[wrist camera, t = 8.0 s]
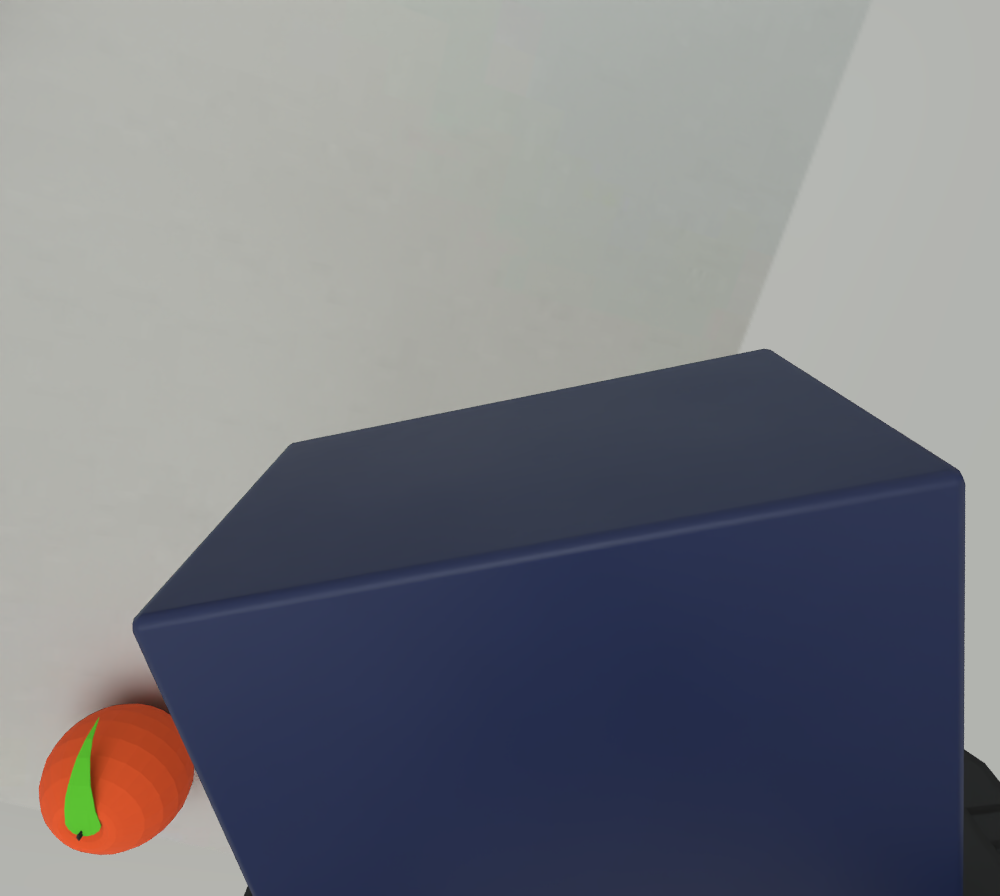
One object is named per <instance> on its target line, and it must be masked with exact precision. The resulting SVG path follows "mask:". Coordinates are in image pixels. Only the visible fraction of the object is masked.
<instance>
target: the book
mask: <svg viewBox="0 0 1000 896" xmlns="http://www.w3.org/2000/svg"><path fill="white" fill-rule="evenodd" d="M964 596H965V482H964V479H963V477H962V475H961V473H960V471H959V470H958V469H956V468H955V467H953V466H951V465H950V464H948V463H947V462H945V461H944V460H942V459H941V458H939V457H938V456H936V455H934V454H933V453H931V452H930V451H928V450H926V449H925V448H923V447H922V446H920V445H919V444H917V443H916V442H914V441H912V440H910V439H909V438H908V437H906V436H904V435H903V434H901V433H900V432H898V431H897V430H895V429H894V428H892V427H890V426H889V425H887V424H886V423H884V422H883V421H881V420H879V419H878V418H876V417H875V416H873V415H872V414H870V413H868V412H867V411H865V410H864V409H862V408H860V407H859V406H857V405H856V404H854V403H853V402H851V401H850V400H848V399H846V398H845V397H843V396H842V395H840V394H839V393H837V392H836V391H834V390H832V389H831V388H829V387H828V386H826V385H825V384H823V383H821V382H820V381H818V380H817V379H815V378H813V377H812V376H810V375H809V374H807V373H806V372H804V371H803V370H801V369H799V368H798V367H796V366H795V365H793V364H792V363H790V362H788V361H787V360H785V359H784V358H782V357H781V356H779V355H777V354H776V353H774V352H773V351H771V350H768V349H761V350H756V351H751V352H746V353H741V354H736V355H731V356H726V357H721V358H716V359H711V360H706V361H701V362H696V363H691V364H686V365H681V366H676V367H671V368H666V369H661V370H656V371H651V372H646V373H641V374H636V375H631V376H626V377H621V378H616V379H611V380H606V381H601V382H596V383H591V384H586V385H581V386H576V387H571V388H566V389H561V390H556V391H551V392H546V393H541V394H536V395H531V396H526V397H521V398H516V399H511V400H506V401H501V402H496V403H491V404H486V405H481V406H476V407H471V408H466V409H461V410H456V411H451V412H446V413H441V414H436V415H431V416H426V417H421V418H416V419H411V420H406V421H401V422H396V423H391V424H386V425H381V426H376V427H371V428H366V429H361V430H356V431H351V432H346V433H341V434H336V435H331V436H326V437H321V438H316V439H311V440H306V441H301V442H296V443H292V444H291V445H289V446H288V447H287V448H286V449H285V451H284V452H283V453H282V454H281V455H280V456H279V457H278V458H277V460H276V461H275V462H274V463H273V464H272V465H271V466H270V467H269V468H268V470H267V471H266V472H265V473H264V474H263V475H262V476H261V477H260V478H259V480H258V481H257V482H256V483H255V484H254V485H253V486H252V487H251V489H250V490H249V491H248V492H247V493H246V494H245V495H244V496H243V497H242V499H241V500H240V501H239V502H238V503H237V504H236V505H235V506H234V508H233V509H232V510H231V511H230V512H229V513H228V514H227V515H226V516H225V518H224V519H223V520H222V521H221V522H220V523H219V524H218V525H217V526H216V528H215V529H214V530H213V531H212V532H211V533H210V534H209V535H208V537H207V538H206V539H205V540H204V541H203V542H202V543H201V544H200V545H199V547H198V548H197V549H196V550H195V551H194V552H193V553H192V554H191V555H190V557H189V558H188V559H187V560H186V561H185V562H184V563H183V564H182V566H181V567H180V568H179V569H178V570H177V571H176V572H175V573H174V574H173V576H172V577H171V578H170V579H169V580H168V581H167V582H166V583H165V585H164V586H163V587H162V588H161V589H160V590H159V591H158V592H157V593H156V595H155V596H154V597H153V598H152V599H151V600H150V601H149V602H148V603H147V605H146V606H145V607H144V608H143V609H142V610H141V611H140V612H139V614H138V615H137V616H136V617H135V618H134V621H133V633H134V635H135V637H136V640H137V642H138V644H139V646H140V648H141V651H142V653H143V655H144V657H145V659H146V662H147V664H148V666H149V668H150V670H151V673H152V675H153V677H154V679H155V681H156V684H157V686H158V688H159V690H160V693H161V695H162V697H163V699H164V701H165V704H166V706H167V708H168V710H169V712H170V715H171V717H172V719H173V721H174V723H175V726H176V728H177V730H178V732H179V734H180V737H181V739H182V741H183V743H184V745H185V748H186V750H187V752H188V754H189V756H190V759H191V761H192V763H193V765H194V767H195V770H196V772H197V774H198V776H199V779H200V781H201V783H202V785H203V787H204V790H205V792H206V794H207V796H208V798H209V801H210V803H211V805H212V807H213V809H214V812H215V814H216V816H217V818H218V820H219V823H220V825H221V827H222V829H223V831H224V834H225V836H226V838H227V840H228V842H229V845H230V847H231V849H232V851H233V853H234V856H235V858H236V860H237V862H238V864H239V866H240V869H241V871H242V873H243V876H244V878H245V880H246V882H247V884H248V887H249V889H250V891H251V893H252V895H253V896H963V826H964V620H965V618H964V615H965V611H964V609H965V608H964V607H965V603H964V602H965V599H964V598H965V597H964Z"/></svg>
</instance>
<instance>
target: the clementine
mask: <svg viewBox="0 0 1000 896" xmlns="http://www.w3.org/2000/svg"><path fill="white" fill-rule="evenodd" d="M193 775H194V765H193V763H192V761H191V759H190V756H189V754H188V752H187V750H186V748H185V745H184V743H183V741H182V739H181V737H180V734H179V732H178V730H177V728H176V726H175V723H174V721H173V719H172V717H171V715H170V714H168V713H167V712H165V711H163V710H161V709H158V708H156V707H153V706H150V705H144V704H122V705H114V706H111V707H107V708H104V709H101V710H99V711H97V712H95V713H93V714H91V715H89V716H87V717H86V718H84V719H82V720H81V721H79V722H78V723H76V724H75V725H74V726H73V727H72V728H71V729H70V730H69V731H68V732H66V733H65V734H64V736H63V737H62V738H61V739H60V740H59V742H58V743H57V744H56V746H55V747H54V749H53V750H52V752H51V754H50V755H49V757H48V758H47V761H46V764H45V767H44V770H43V773H42V777H41V781H40V785H39V800H40V807H41V813H42V815H43V818H44V821H45V823H46V824H47V826H48V827H49V829H50V830H51V831H52V833H53V834H54V835H55V836H56V837H57V838H58V839H59V840H60V841H62V842H63V843H64V844H65V845H67V846H69V847H70V848H72V849H75V850H78V851H80V852H85V853H91V854H99V855H104V854H116V853H120V852H124V851H126V850H129V849H132V848H135V847H137V846H140V845H142V844H143V843H145V842H147V841H149V840H150V839H152V838H153V837H154V836H156V835H157V834H158V833H160V832H161V831H162V830H163V829H164V828H165V827H166V826H167V825H168V824H169V823H170V822H171V821H172V820H173V819H174V817H175V816H176V815H177V813H178V812H179V811H180V809H181V808H182V807H183V804H184V802H185V800H186V798H187V795H188V793H189V790H190V787H191V785H192V782H193Z"/></svg>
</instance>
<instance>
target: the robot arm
mask: <svg viewBox="0 0 1000 896" xmlns="http://www.w3.org/2000/svg"><path fill="white" fill-rule="evenodd" d="M244 896H253V895H252V893H251V891H250V889H249V887H247V889H246V892H245V895H244ZM963 896H1000V782H999V780H998V779H997V778H996V777H995V775H994V774H993V773H992V772H991V771H990V769H989V768H988V767H987V766H986V764H985V763H983V762H982V761H980V760H979V759H977V758H976V757H974V756H973V755H972V754H970V753H969V752H967V751H966V750H964V826H963Z"/></svg>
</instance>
